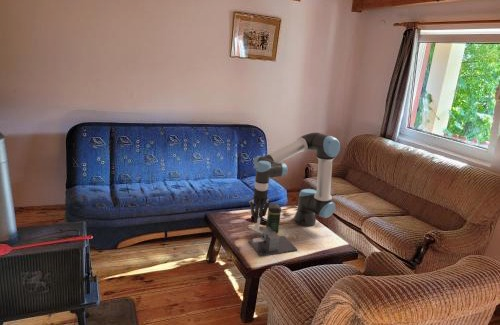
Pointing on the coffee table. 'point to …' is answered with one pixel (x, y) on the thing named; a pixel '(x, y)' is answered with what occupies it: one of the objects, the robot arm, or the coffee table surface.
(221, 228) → the coffee table surface
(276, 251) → the hitch block
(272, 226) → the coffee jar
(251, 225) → the keeper
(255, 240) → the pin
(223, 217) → the coffee table surface
